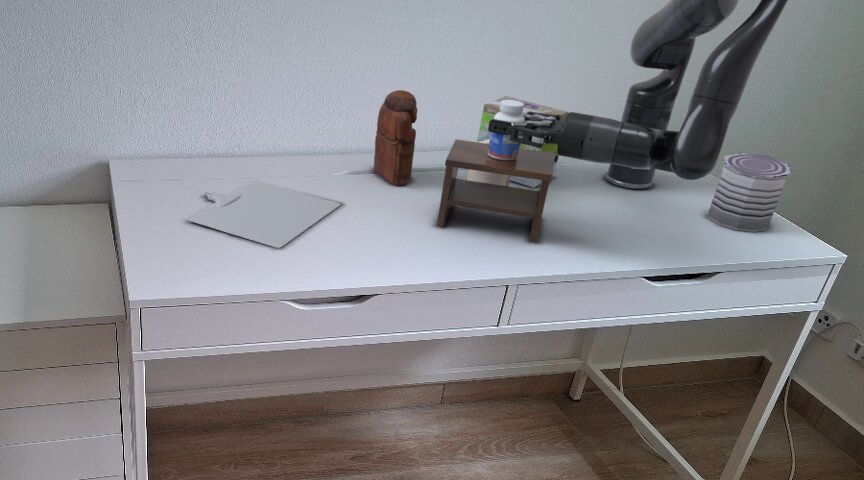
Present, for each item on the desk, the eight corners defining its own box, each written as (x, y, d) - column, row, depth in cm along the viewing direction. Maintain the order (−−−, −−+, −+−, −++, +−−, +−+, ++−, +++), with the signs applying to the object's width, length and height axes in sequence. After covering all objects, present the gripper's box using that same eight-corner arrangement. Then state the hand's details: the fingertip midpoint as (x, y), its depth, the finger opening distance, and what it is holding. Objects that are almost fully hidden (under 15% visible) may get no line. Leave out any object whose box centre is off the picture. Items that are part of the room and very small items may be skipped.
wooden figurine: (419, 184, 180) (431, 97, 170) (392, 187, 178) (403, 99, 168) (391, 165, 189) (402, 82, 180) (365, 168, 187) (375, 84, 178)
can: (782, 227, 168) (804, 168, 162) (743, 236, 164) (764, 175, 158) (732, 206, 177) (751, 149, 171) (693, 214, 172) (711, 155, 166)
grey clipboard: (238, 178, 178) (238, 173, 177) (341, 207, 169) (341, 201, 168) (167, 217, 159) (167, 211, 158) (278, 251, 150) (279, 245, 149)
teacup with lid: (514, 199, 175) (526, 143, 169) (471, 199, 174) (481, 143, 168) (494, 178, 185) (504, 124, 179) (453, 178, 184) (462, 124, 178)
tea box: (470, 170, 189) (482, 102, 181) (492, 160, 195) (505, 94, 188) (534, 189, 180) (549, 119, 173) (555, 177, 187) (570, 109, 180)
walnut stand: (445, 203, 171) (455, 139, 165) (540, 218, 167) (555, 153, 160) (435, 226, 161) (445, 159, 154) (536, 243, 156) (552, 175, 150)
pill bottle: (483, 151, 159) (492, 98, 154) (511, 151, 160) (521, 98, 155) (492, 161, 154) (502, 106, 150) (521, 161, 155) (532, 107, 150)
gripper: (603, 107, 152) (508, 91, 159) (588, 127, 141) (486, 109, 148) (593, 148, 156) (500, 131, 162) (577, 171, 145) (478, 152, 151)
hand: (494, 121), depth 155 cm, fingers closed on pill bottle, 5 cm apart
